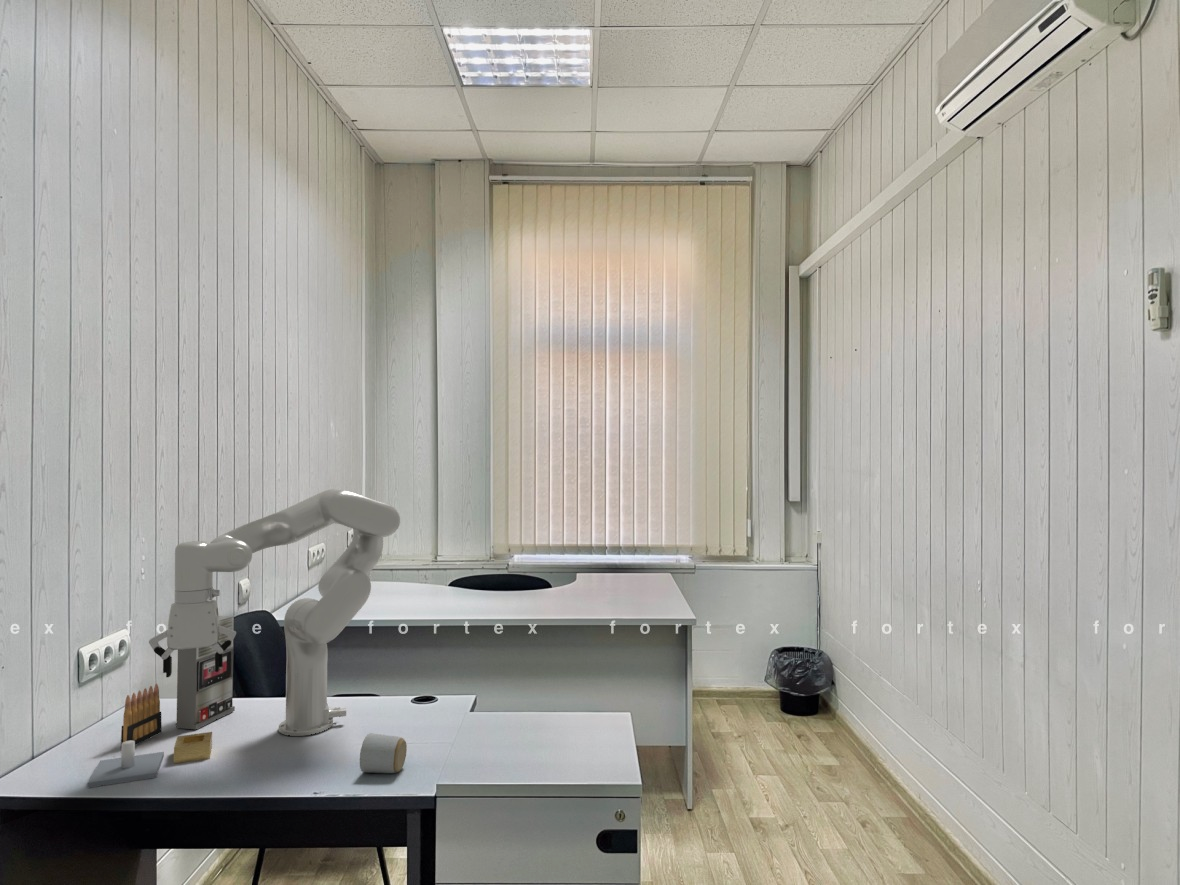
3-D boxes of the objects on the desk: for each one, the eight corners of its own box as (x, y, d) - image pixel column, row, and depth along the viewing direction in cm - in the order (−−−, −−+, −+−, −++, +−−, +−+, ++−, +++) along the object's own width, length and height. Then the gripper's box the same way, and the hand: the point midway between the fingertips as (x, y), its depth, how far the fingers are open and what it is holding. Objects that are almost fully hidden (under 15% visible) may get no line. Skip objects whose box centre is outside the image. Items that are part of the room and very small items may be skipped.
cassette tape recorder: (197, 730, 178) (198, 628, 179) (175, 728, 179) (177, 626, 180) (235, 711, 191) (236, 616, 192) (215, 710, 193) (216, 615, 193)
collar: (212, 747, 168) (212, 731, 168) (209, 758, 161) (210, 742, 161) (177, 751, 165) (177, 736, 165) (173, 763, 158) (174, 747, 158)
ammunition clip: (127, 749, 166) (128, 696, 167) (120, 748, 167) (121, 696, 167) (161, 732, 177) (162, 682, 177) (155, 731, 177) (155, 682, 177)
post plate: (163, 756, 162) (164, 729, 162) (156, 777, 151) (156, 748, 152) (100, 765, 157) (100, 737, 158) (87, 787, 146) (88, 757, 147)
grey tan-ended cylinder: (396, 779, 151) (397, 741, 151) (358, 778, 151) (359, 740, 151) (412, 759, 161) (413, 724, 162) (376, 758, 162) (377, 723, 162)
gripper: (237, 591, 171) (236, 664, 170) (152, 597, 164) (151, 673, 164) (235, 596, 164) (235, 672, 163) (146, 603, 157) (146, 682, 157)
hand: (193, 673), depth 164 cm, fingers open, 9 cm apart
